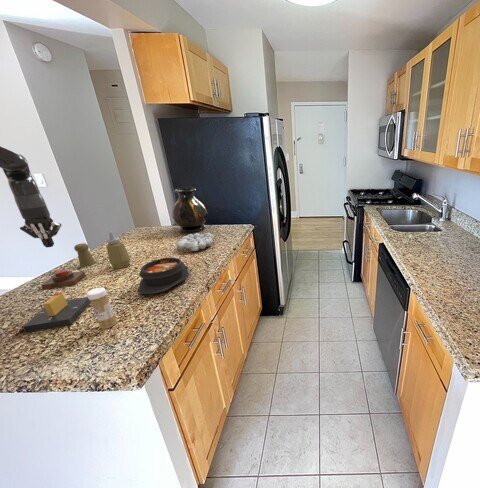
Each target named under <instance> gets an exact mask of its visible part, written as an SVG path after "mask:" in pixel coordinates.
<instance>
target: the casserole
mask: <svg viewBox="0 0 480 488" xmlns="http://www.w3.org/2000/svg"><path fill="white" fill-rule="evenodd" d="M189 274H190V273H189V266H188V265H186V264H185V263H184V262H183V261H182V260H181V259H180V258H178V257H164V258H159V259H155V260H151V261H149V262H147V263H145V264H144V265H142V266H141V268H140V271H139V274H138V276H139V277H140V278H141V280H140V282H139V287H138V288H137V293H139V294H144V295H152V294H153V295H154V294H159V293H164V292H167V291H169V290H170V289H171V288H172V287H175V286H176V285H179V284H180V283H182V282H183V281H184V280H186V279H187V278H188V277H189Z"/></svg>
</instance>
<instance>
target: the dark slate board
mask: <svg viewBox="0 0 480 488" xmlns="http://www.w3.org/2000/svg"><path fill="white" fill-rule="evenodd" d="M65 300H66V302H67V304H68V305H67V306H66V307H64V308H63V309H62V310H61V311H60V312H59V313H57V314H56V315H55V316H49V315H48V313H47V311H46V309H45V307H44V306H43V308H42V309H40V310H39V312H37V313H36V314H35V315H34V316H33V317H32V318H31V319H30V320H28V321H27V322H26V323H25V324H24V325H23V326H22V329H23V330H24V332H25V334H29V333H33V332H40V331H45V330H50V329H56V328H57V329H58V328H63V327H69V326H72V325H73V324H74V323H75V322H76V321H77V319H78V318H79V317H80V316H81V315H82V314H83V312H84V311H85V310H86V309H87V308H88V307H89V306H90V304H91V302H90V300H89V299H88V296H85V297H79V298H78V297H77V298H71V299H65Z"/></svg>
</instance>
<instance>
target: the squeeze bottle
mask: <svg viewBox="0 0 480 488" xmlns="http://www.w3.org/2000/svg"><path fill="white" fill-rule="evenodd" d="M108 235H109V236H108V237H109V238H108V239H107V241H106V242H107V245H106V251H107V257H108V260H109V264H110V265H111V266H112V267H113V268H114V269H117V270H119V269H123V268H124V269H125V268H127V267H129V266H130V261H131V257H130V255H129V253H128V250H127V248H126V246H125V243H124V242H122V241H121V240H120V238H119V237H116V235H115V234H114V232H113V231H109V232H108Z"/></svg>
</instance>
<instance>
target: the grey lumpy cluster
mask: <svg viewBox="0 0 480 488" xmlns="http://www.w3.org/2000/svg"><path fill="white" fill-rule="evenodd" d="M214 240H215V236H214V235H213V234H211V232H205V233H204V234H200V233H199V232H195V233H187V235H184V236H182V237H181V239H180V240H179V241H177V242H176V244H175V247H176V248H177V249H179V250H182V251H184V250H186V249H188V250H190V251H192V252H197V251H200V250H205V249H206V248H208V247H211V246H212V244H213V241H214Z"/></svg>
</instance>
